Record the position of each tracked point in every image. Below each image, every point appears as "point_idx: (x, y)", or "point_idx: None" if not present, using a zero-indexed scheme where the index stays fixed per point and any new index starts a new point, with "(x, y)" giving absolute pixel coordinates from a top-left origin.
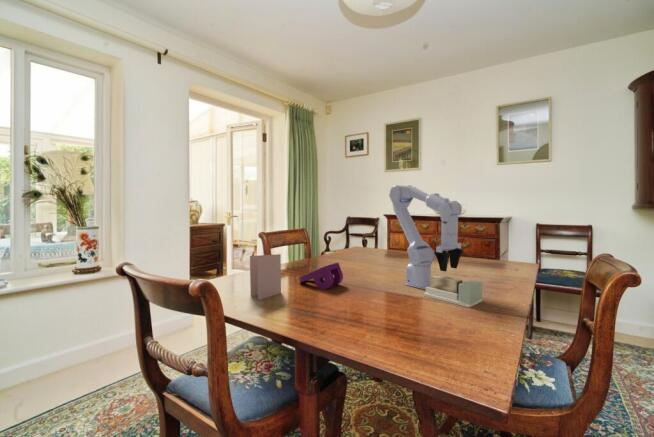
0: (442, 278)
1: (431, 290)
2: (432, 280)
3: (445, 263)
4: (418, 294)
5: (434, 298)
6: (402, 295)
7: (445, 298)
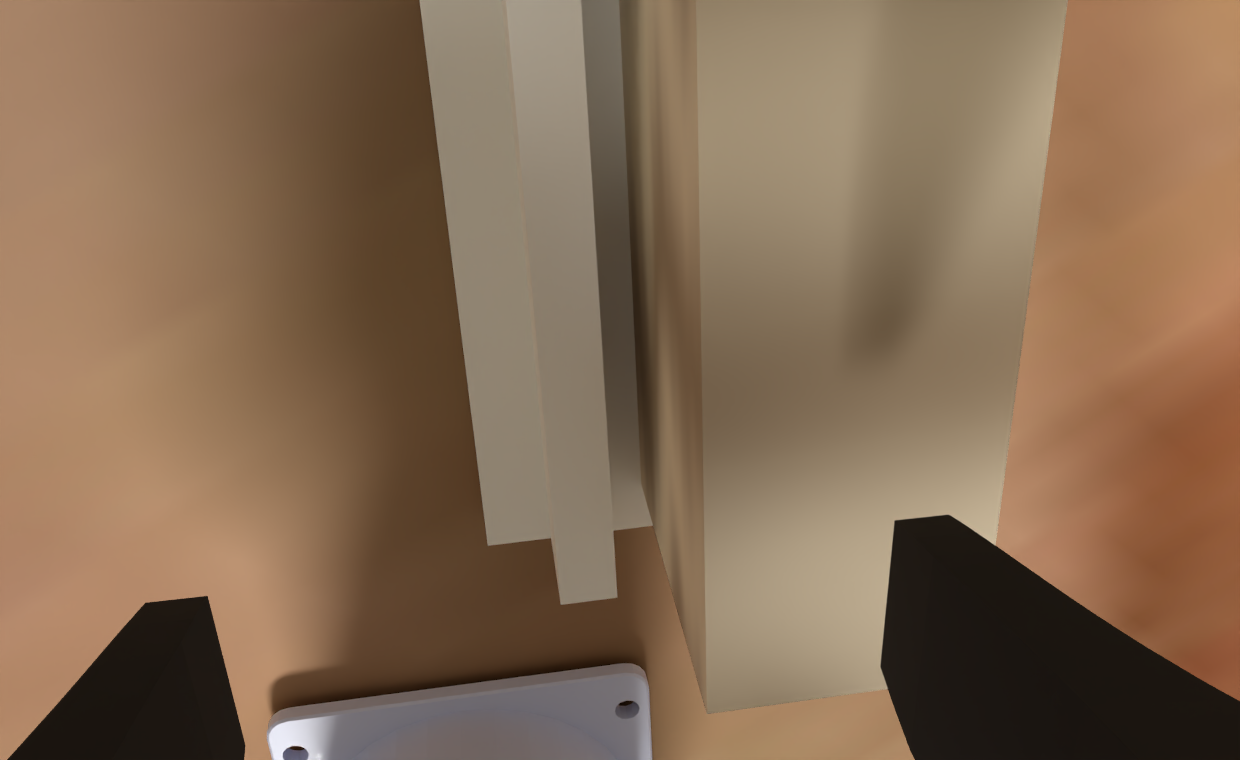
0: (985, 409)
1: None
2: None
3: (1187, 683)
4: None
5: None
6: (1169, 632)
7: None
